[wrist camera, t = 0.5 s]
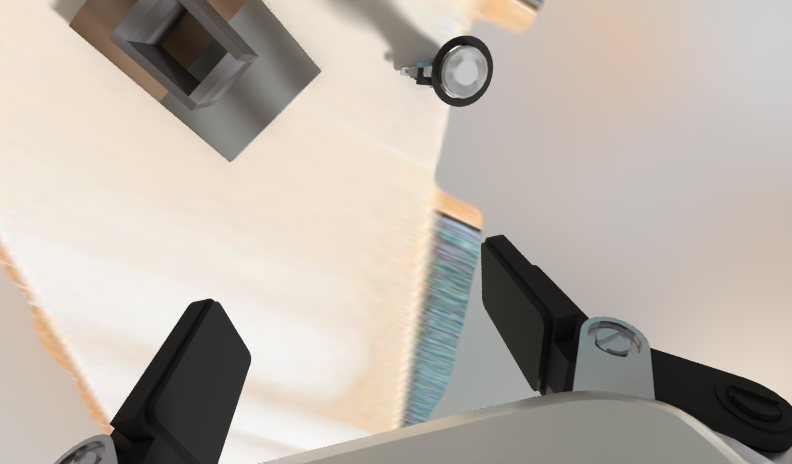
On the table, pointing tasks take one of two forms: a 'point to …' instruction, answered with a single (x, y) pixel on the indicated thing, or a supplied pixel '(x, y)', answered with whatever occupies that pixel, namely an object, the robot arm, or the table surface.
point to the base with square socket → (203, 61)
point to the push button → (456, 71)
